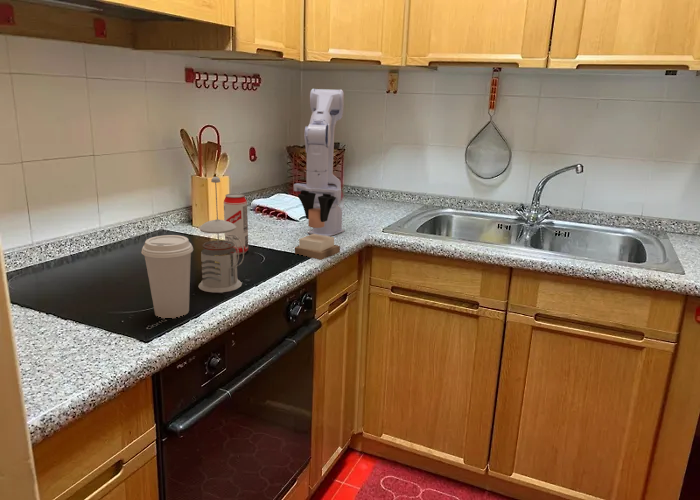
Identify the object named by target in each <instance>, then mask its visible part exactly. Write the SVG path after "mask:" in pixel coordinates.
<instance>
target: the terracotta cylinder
mask: <svg viewBox="0 0 700 500" xmlns="http://www.w3.org/2000/svg"><path fill="white" fill-rule="evenodd" d="M324 224H325V222H321V218H320V208H311V209H309V219H308V224H307V225H308V227H309V228H312V229H313V228H321V227H324Z"/></svg>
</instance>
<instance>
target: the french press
mask: <svg viewBox="0 0 700 500" xmlns="http://www.w3.org/2000/svg"><path fill="white" fill-rule="evenodd" d="M211 183H213V184H215V185H214V186H215V205H216V206H215V209H216V219H212V220H208V221H206V222H204V223H203V224H201V225H200V226H198V229H199V231H200V232H201V233H204V234H217V240H208V241H205V242H204V243H202V245H201V246H202V248H203V249H202V250H201V251H200V260H201V261H200V262H202V263H201V273H202V275H201V277H202V280H201V282H200V283H198V288H199V290H201V291H204V292H208V293H227V292H232V291H235V290H238V289H239V288H240V287H242V285H243V282H241V281H240V279H238V267H239V266H240V265H242V263H243V261H244V258H245V253H244V248H243V245H242V242H241V241H240V239H239V238H238V237H237V236H236V235H234V236H235V237H236V238H238V240H239V241H240V243H241V245H242V248H243V254H242V259H241V261H240V262H239V259H240V255H239V250H238V247H237V245H236V243H235V241H234V236H233V239H232V238H231V237H228V241H225V239H223V240H222V239H220V236H219V235H220V234H225V233H227V232H231V231H234V229H235V228H236V226H235V225H234V224H233V223H231V222H228V221H224V219H219V214H218V212H219V211H218V193H217V183H221V178H219V177H218V176H213V177H212V178H211ZM229 238H230V239H232V241H229ZM233 242H234V243H235V244H234V243H233ZM234 245H236V247H237V251H238V255H237V253H236V249H235V248H232V247H234ZM229 252H234V253H233V255H232V254H229ZM238 262H239V264H238Z"/></svg>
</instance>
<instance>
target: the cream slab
mask: <svg viewBox="0 0 700 500" xmlns="http://www.w3.org/2000/svg"><path fill="white" fill-rule="evenodd" d="M298 243H299V244H298V246H299V248H303V249H309V250H314V251H319V252H321V251H324V250H326V249H328V248H331V247H333V246H334V245H335V236H324V235H318V234H309V235H306V236H303V237H301V238H299V242H298Z"/></svg>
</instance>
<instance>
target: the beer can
mask: <svg viewBox="0 0 700 500" xmlns="http://www.w3.org/2000/svg"><path fill="white" fill-rule="evenodd" d="M245 196H246V195H245V193H235V192H234V193H228V194H225V198H224V199H223V220H224V221H228V222H231V223H233V224H234V225H235V226H236V228H235V229H234V231H231V232H227V233H224V240H225V241H228V237H231V238H232V239H233V236H234V235H236V236H237V237H238V238H239V239H240V241H241V242H242V245H243V248H244V254H246V253H247V252H248V251H249V224H248V221H249V219H248V218H249V217H248V201H247V199H246V197H245ZM238 238H236V237H235V236H234V241H235V243H236V245H237V247H238V250H239V256H241V255H243V248H242V245H241V243H240V241H239V240H238ZM232 239H230V238H229V241H232ZM233 243H234V242H233ZM235 243H234V244H235ZM236 245H234V247H232V248H235V249H236V253H237V256H238V251H237V247H236ZM233 253H234V252H229V253H228V255H233Z"/></svg>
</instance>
